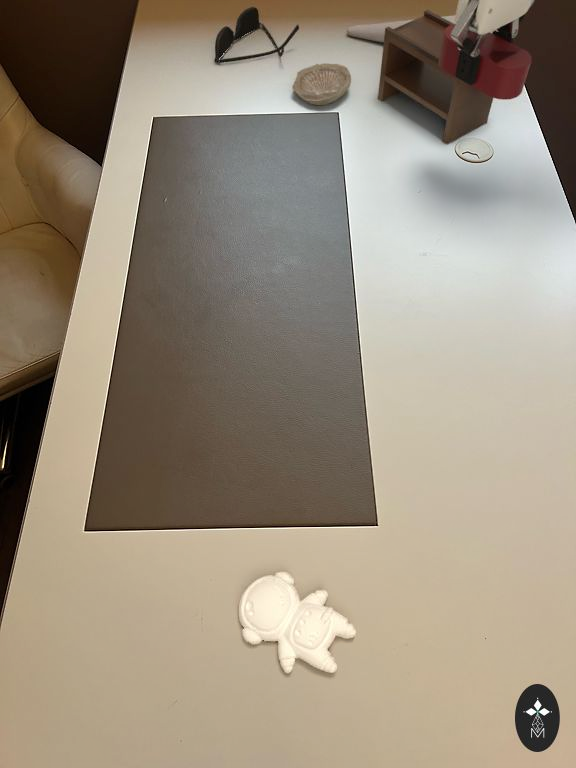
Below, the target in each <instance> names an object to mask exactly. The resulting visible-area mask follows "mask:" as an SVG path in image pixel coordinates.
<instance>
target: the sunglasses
mask: <svg viewBox="0 0 576 768" xmlns="http://www.w3.org/2000/svg"><path fill="white" fill-rule="evenodd" d="M260 26H261V27H260ZM257 27H259V28H262V27H263V28H262V29H263V30H264V32H265V31H266V32H265V33H266V35H267V34H268V35H269V36H268V35H267V36H268V38H269V39H270V38H271V39H272V41H273V42H272V41H271V42H272V44H273V43H274V44H273V46H274V45H275V46H276V47H275V46H274V47H275V49H273V50H269V51H266V52H261V53H260V52H259V53H255V54H249V55H243V56H236V57H227V58H221V59H220V60H219V58H220V57H221V56H222V55H223V53H225V51H226V50H227V49H228V48H229V47H230V46H231V47H232V45H233V44H234V42H235V40H236V41H238V40H240V39H242V38H241V37H242V36H244V35H245V34H247V33H249V32H251V31H253V30H254V29H256V28H257ZM257 29H258V28H257ZM257 29H256V30H257ZM299 30H300V26H299V24H296V25H295V26H294V28H293V30H292V31H291V32H290V34H288V36H287V38H286V39H285V40H284V42H283V43H282V44H281V45H280V46H279V45H278V44H277V43H276V41H275V39H274V37H273V36H272V34H271V33H270V31H269V30H268V29H267V27H266V26H265V25H264V23H261V22H260V15H259V9H258V8H257V7H255V6H251V7H248V8H246V9H244V10H243V12H241V13H240V15H239V16H238V17H237V20H236V24H235V29H234V31H233V30H232V28H231V27H230V26H228V25H224V27H222V28H221V29H220V30H219V31H218V32H217V35H216V38H215V43H214V58H213V60H214V63H216V64H217V63H218V64H223V63H224V62H225V63H232V62H239V61H245V60H251V58H252V59H256V58H257V59H258V58H262V57H267V56H270V55H273V54H275V53H277V54H278V53H279V54H278V56H279V57H282V56H283V54H284V52H285V47H286V46H287V44H288V43H289V42H290V41H291V40H292V38H293V37H294V36H295V34H296V33H298V31H299ZM253 32H254V31H253ZM239 38H240V39H239ZM237 39H238V40H237ZM271 39H270V40H271ZM231 44H232V45H231ZM231 47H230V48H231ZM230 48H229V49H230ZM276 48H277V49H276ZM229 49H228V50H229ZM225 54H226V53H225Z"/></svg>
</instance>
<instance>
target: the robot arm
mask: <svg viewBox="0 0 576 768" xmlns="http://www.w3.org/2000/svg"><path fill="white" fill-rule="evenodd" d="M534 3H535V0H458V2H457V6H456V10H455V15H456V16H455V22H456V23H457V24H456V25H455V27H454V28H453V30H452V32H451V35H450V36H451V37H452V39H453V40H454V41H455V42H456V44H457V45H458V49H459V50H460V54H459V59H458V64H457V68H456V73H455V76H456V77H457V78H458V79H460V80H462V81H464V82H465V83H467V84H469V85H473V84H475V81H476V77H477V73H478V69H479V65H480V60H481V55H479V52H480V50H481V48H482V45H483V43H484V41H485V38H486V36H487V33H489V32H490V33H492V34H494V35H496V36H498V37H500V38H502V39H504V40H506V41H508V42H510V43H512V44H514V43H513V42H514V38H516V36H517V35H518V33H519V26H520V25H521V24H522V22H523V21H524V19H525V17H526V14H527V13H528V11H529V10H530V8H531V7H532V6H533V4H534ZM475 22H476V23H477V26H478V27H477V26H475ZM472 32H473V33H475V34H477V35H478V36H477V39H476V41H475V43H473V41H472V40H471V39H470V37H471V34H472Z"/></svg>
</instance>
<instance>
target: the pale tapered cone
mask: <svg viewBox="0 0 576 768" xmlns="http://www.w3.org/2000/svg"><path fill="white" fill-rule="evenodd" d="M455 16H456V14H453V15H446V16H441V17H442V18H444V19H446V20H448V21H450V22H451V23H453V24H457V23H456V22H455ZM413 20H414V19H407V20H398V21H397V20H396V21H388V22H387V21H386V22H379V23H370V24H358V25H353V26H349V27H347V29H346V34H347V35H348V36H350V37H353V38H354V37H355V38H358V39H362V40H363V39H364V40H367V41H373V42H379V43H382V44H384V35H385V28H386V27H390V28H392V29H395V28H397V27H399V26H401V25H404V24H406V23H408V22H411V21H413ZM475 26H478V24H477V23H476V22H475Z"/></svg>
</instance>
